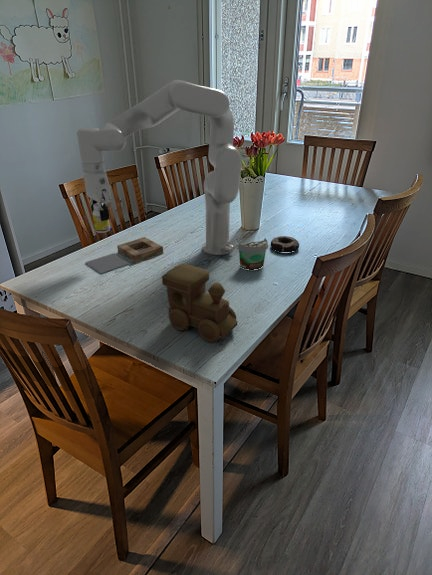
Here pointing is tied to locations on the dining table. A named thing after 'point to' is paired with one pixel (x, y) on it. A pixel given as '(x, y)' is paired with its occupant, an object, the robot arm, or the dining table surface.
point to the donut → (284, 244)
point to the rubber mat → (107, 263)
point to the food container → (252, 254)
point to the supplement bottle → (99, 220)
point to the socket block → (148, 252)
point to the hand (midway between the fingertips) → (100, 217)
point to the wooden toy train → (198, 303)
